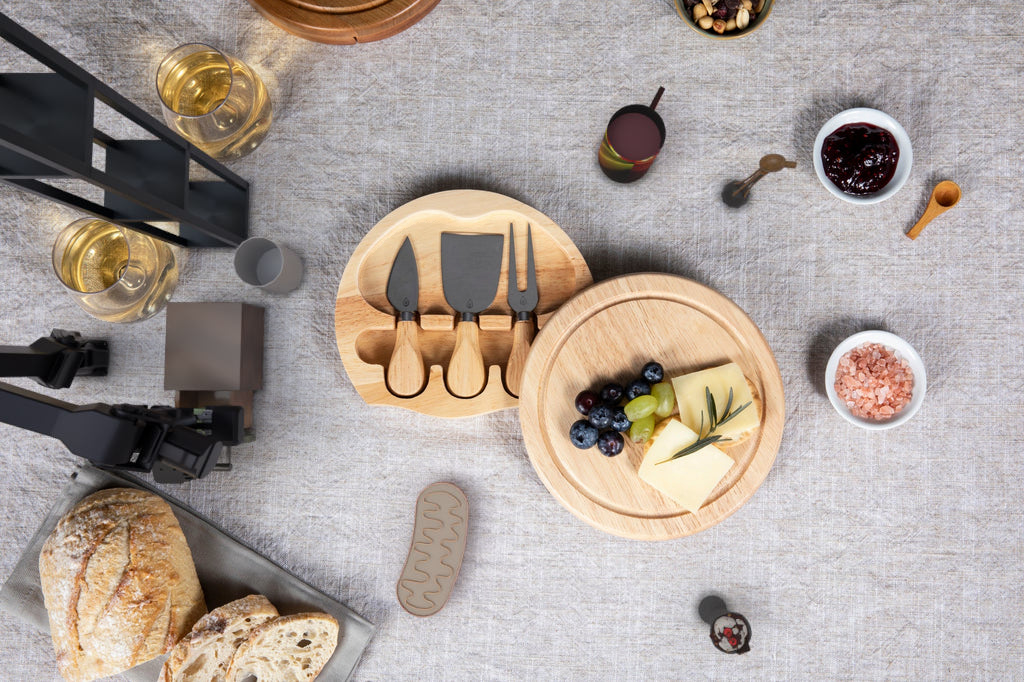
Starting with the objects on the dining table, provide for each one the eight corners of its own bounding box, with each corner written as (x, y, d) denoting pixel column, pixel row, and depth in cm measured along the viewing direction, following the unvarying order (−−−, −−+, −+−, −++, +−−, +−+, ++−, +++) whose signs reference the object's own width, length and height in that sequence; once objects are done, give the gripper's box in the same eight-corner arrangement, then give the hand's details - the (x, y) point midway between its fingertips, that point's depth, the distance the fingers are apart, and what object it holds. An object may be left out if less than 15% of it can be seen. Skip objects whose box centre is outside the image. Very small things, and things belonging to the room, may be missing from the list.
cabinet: (262, 389, 119) (239, 390, 109) (192, 388, 119) (163, 390, 109) (264, 307, 119) (242, 302, 110) (195, 307, 120) (166, 301, 110)
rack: (181, 248, 120) (-234, 98, 54) (183, 182, 121) (-225, -45, 55) (247, 248, 120) (-89, 98, 54) (249, 183, 120) (-82, -46, 54)
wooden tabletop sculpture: (755, 184, 119) (802, 146, 99) (752, 209, 119) (799, 176, 99) (722, 180, 119) (762, 142, 99) (719, 206, 119) (760, 172, 99)
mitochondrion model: (425, 472, 117) (421, 476, 112) (480, 485, 117) (478, 490, 112) (395, 600, 117) (390, 610, 112) (450, 613, 116) (447, 624, 111)
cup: (297, 298, 119) (276, 291, 109) (253, 289, 119) (228, 281, 110) (307, 252, 120) (287, 241, 110) (263, 243, 120) (239, 231, 110)
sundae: (691, 592, 116) (716, 625, 101) (729, 589, 116) (760, 621, 101) (694, 630, 115) (720, 669, 100) (733, 627, 115) (764, 665, 100)
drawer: (255, 467, 117) (236, 474, 109) (191, 466, 117) (167, 473, 110) (257, 364, 118) (239, 363, 110) (194, 363, 118) (171, 363, 110)
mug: (654, 109, 120) (668, 80, 108) (650, 184, 119) (664, 164, 107) (600, 106, 120) (609, 77, 108) (596, 182, 119) (605, 161, 107)
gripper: (89, 485, 95) (150, 469, 111) (218, 486, 95) (261, 470, 111) (92, 407, 96) (152, 402, 112) (220, 408, 96) (262, 403, 111)
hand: (207, 421), depth 111 cm, fingers closed on block, 4 cm apart
